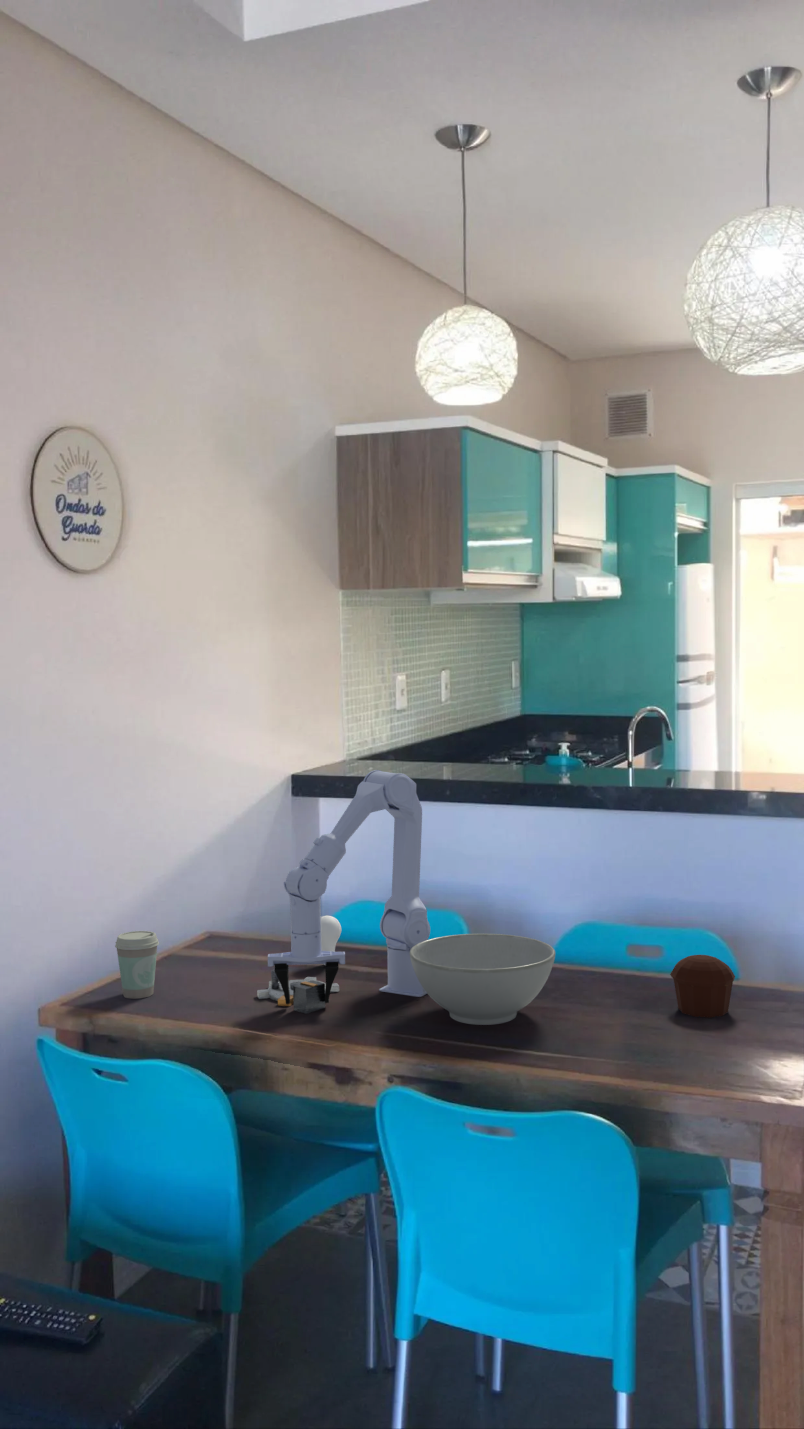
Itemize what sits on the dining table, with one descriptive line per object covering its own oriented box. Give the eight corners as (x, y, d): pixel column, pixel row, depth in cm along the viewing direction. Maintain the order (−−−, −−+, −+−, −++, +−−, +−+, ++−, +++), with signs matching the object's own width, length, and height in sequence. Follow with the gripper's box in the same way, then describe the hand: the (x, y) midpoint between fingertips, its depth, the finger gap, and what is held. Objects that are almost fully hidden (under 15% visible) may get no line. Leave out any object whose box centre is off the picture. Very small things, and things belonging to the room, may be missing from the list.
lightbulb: (338, 970, 252) (337, 919, 252) (310, 969, 253) (309, 918, 253) (344, 963, 258) (343, 913, 258) (317, 962, 259) (316, 912, 259)
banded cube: (325, 1009, 225) (324, 982, 225) (306, 1015, 221) (305, 988, 221) (312, 1006, 227) (312, 979, 227) (293, 1012, 223) (293, 985, 223)
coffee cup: (128, 1003, 231) (126, 942, 230) (109, 994, 237) (107, 935, 237) (168, 995, 236) (166, 935, 235) (147, 986, 243) (146, 928, 242)
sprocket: (317, 978, 245) (316, 956, 245) (353, 997, 231) (352, 973, 231) (245, 990, 237) (244, 967, 237) (278, 1010, 223) (277, 986, 223)
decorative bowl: (515, 988, 237) (514, 928, 236) (583, 1026, 212) (582, 959, 211) (389, 1004, 227) (388, 942, 227) (444, 1046, 202) (443, 976, 202)
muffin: (744, 1007, 221) (743, 954, 221) (723, 1023, 212) (723, 968, 212) (682, 998, 228) (682, 946, 228) (660, 1013, 219) (660, 959, 218)
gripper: (344, 925, 228) (345, 994, 229) (268, 927, 227) (270, 997, 228) (344, 933, 221) (346, 1005, 222) (266, 936, 220) (268, 1008, 221)
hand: (307, 1002), depth 225 cm, fingers open, 7 cm apart
